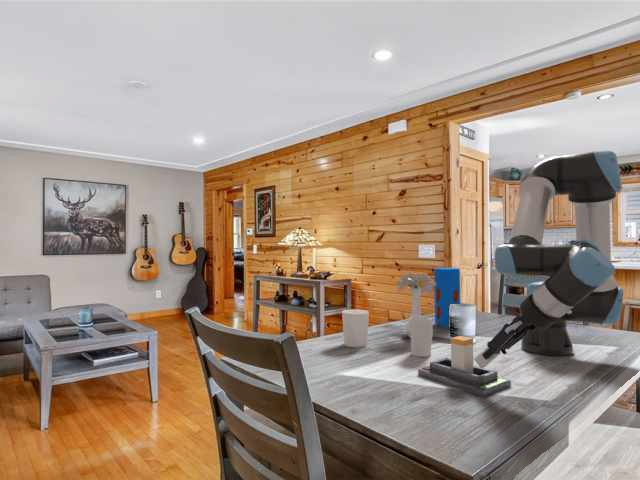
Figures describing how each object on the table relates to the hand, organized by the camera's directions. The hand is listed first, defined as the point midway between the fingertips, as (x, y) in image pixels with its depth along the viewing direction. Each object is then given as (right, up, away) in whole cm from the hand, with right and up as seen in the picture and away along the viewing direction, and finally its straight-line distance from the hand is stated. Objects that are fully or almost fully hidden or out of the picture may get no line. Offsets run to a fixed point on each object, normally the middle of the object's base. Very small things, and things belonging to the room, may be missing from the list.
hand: (479, 363), depth 103 cm
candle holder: (-28, -7, +43) cm, 52 cm away
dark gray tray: (-3, -6, +5) cm, 8 cm away
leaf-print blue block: (+15, -6, +74) cm, 76 cm away
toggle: (-3, -4, +5) cm, 7 cm away
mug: (-6, -6, +30) cm, 32 cm away
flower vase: (-3, -6, +54) cm, 55 cm away
